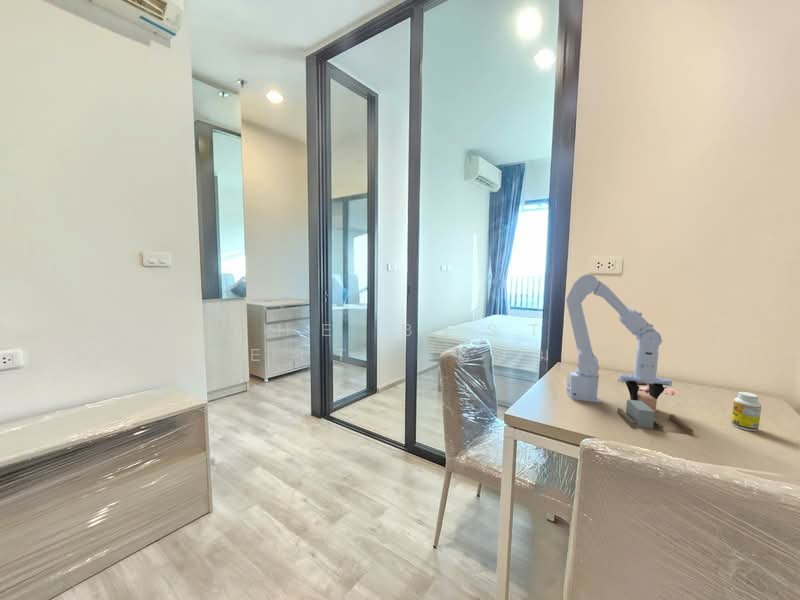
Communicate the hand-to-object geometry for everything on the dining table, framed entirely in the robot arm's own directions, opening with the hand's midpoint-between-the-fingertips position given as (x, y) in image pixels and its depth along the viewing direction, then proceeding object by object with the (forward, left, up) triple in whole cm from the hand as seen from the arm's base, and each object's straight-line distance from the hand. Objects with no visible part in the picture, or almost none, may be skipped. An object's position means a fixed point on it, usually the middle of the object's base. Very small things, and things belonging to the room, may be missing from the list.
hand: (642, 404), depth 109 cm
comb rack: (-2, -13, -1) cm, 13 cm away
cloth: (+10, +26, -2) cm, 28 cm away
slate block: (-6, -13, -1) cm, 14 cm away
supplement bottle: (+24, -6, -2) cm, 25 cm away
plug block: (0, 0, -2) cm, 2 cm away
